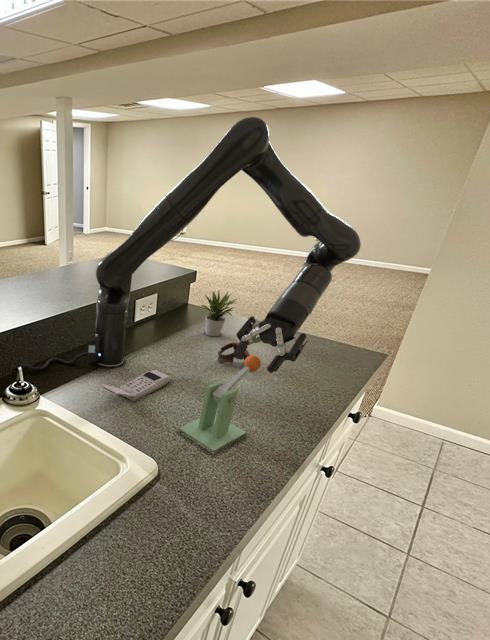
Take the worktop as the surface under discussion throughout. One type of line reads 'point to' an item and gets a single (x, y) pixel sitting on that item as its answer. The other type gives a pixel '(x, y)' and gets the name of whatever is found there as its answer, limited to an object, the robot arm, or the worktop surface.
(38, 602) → the worktop surface
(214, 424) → the power switch
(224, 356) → the brown curved piece
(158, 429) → the worktop surface
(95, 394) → the worktop surface
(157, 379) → the mobile phone
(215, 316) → the house plant
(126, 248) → the robot arm
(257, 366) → the switch lever
